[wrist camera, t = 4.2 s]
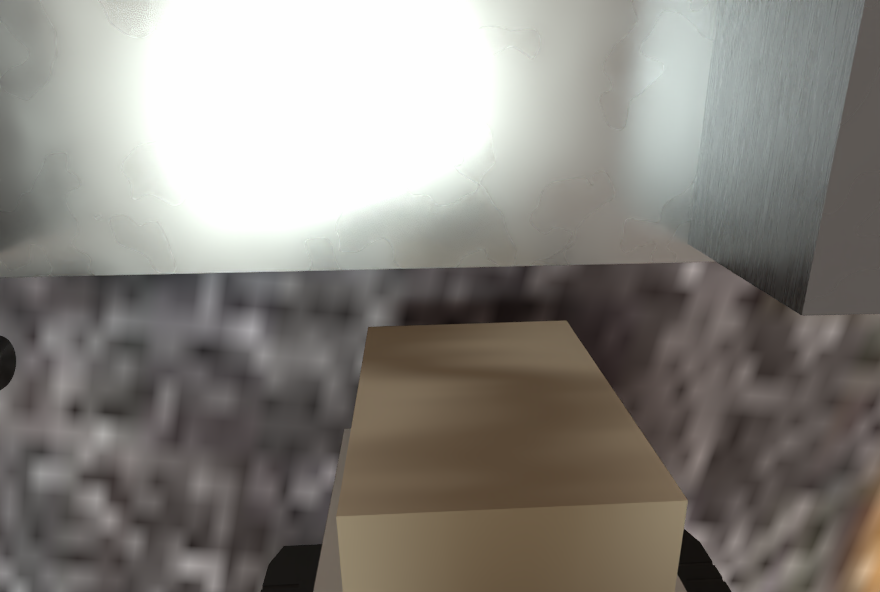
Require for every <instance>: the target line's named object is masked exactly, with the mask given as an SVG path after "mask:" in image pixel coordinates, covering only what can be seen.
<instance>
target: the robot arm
mask: <svg viewBox="0 0 880 592" xmlns="http://www.w3.org/2000/svg"><path fill="white" fill-rule="evenodd" d="M350 432H351V429H344V434H343V439H342V445H341V450H340V455H339V460H338V465H337V471H336V476H335V481H334V486H333V491H332V497H331V502H330V507H329V512H328V517H327V523H326V528H325V533H324V538H323V544H319V545H298V546H284V547H283V548H282V549H281V550H280V552H279V553H278V554H277V555H276V556H275V558H274V559H273V560H272V561H271V563H270V564H269V566H268V569H267V572H266V576H265V579H264V583H263V589H262V590H261V592H343V588H342V577H341V566H340V555H339V543H338V532H337V521H336V514H337V509H338V503H339V497H340V491H341V485H342V479H343V473H344V467H345V461H346V456H347V450H348V444H349V438H350ZM675 592H731V590H730V589H729V587H728V586H727V584H726V582H723V580H722V576H721V575H720V573H719V571H718V570H717V568H716V567H715V565H713V564H712V560H711V559H710V557H709V556H708V554H707V553H706V551H705V549H704V548H703V546H702V545H701V543H700V542H699V541H698V540H697V539H695V538H694V537H693V536H692V535H691V534H689V533H688V532H687V531H686V530H685V529H684V531H683V537H682V544H681V551H680V558H679V565H678V572H677V579H676V585H675Z"/></svg>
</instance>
